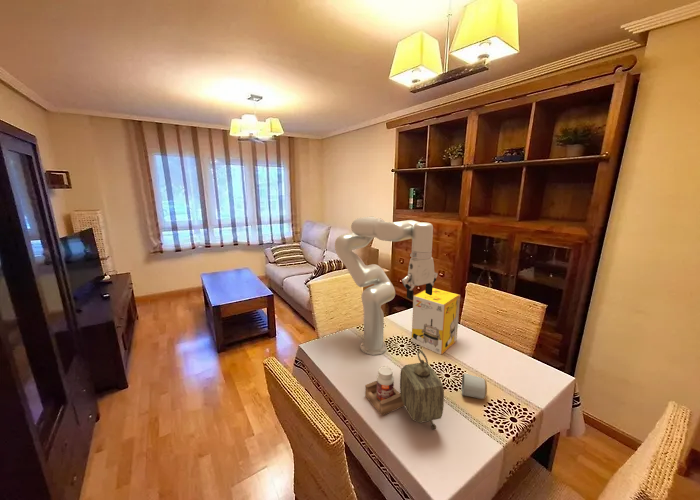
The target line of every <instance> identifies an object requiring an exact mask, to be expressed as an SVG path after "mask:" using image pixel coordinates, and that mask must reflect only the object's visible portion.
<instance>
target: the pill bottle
mask: <svg viewBox="0 0 700 500" xmlns="http://www.w3.org/2000/svg"><path fill="white" fill-rule="evenodd" d="M377 372H378V373H377V374H378V375H377V377H376V381H377V398H378V400H379V401H382V400H385V399H387V398H389V397H392V396H393V391H394V388H395V387H394V386H395V385H394V384H395V382H394V381H395V378H394V375H393V373H394V371H393V368H391V367H390V366H388V365H387V366H386V365H383V366H380V367H379V368H378V371H377Z"/></svg>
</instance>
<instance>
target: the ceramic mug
mask: <svg viewBox="0 0 700 500" xmlns="http://www.w3.org/2000/svg"><path fill="white" fill-rule="evenodd" d="M487 393H488V383H487V380H486V379H485V378H483V377H481V376H477V375H473V374H469V373H462V375H461V395H462V396H464V397H465V396H466V397H472V398H477V399H479V400H480V399H481V400H484V399H486V398H487Z"/></svg>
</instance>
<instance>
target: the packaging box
mask: <svg viewBox="0 0 700 500" xmlns="http://www.w3.org/2000/svg"><path fill="white" fill-rule="evenodd" d="M425 291H426V289H424V290H422V291H420V292H418V293H416V294H413V300H412V317H411V318H412V324H411V326H412V327H411V343H413V344H415V345H416V344H417V345H418V346H421V347H422V348H426V349H427V350H430V351H432V352H434V353H437V354H439V355H443V354H444V353H445V352H446V351H447V350H448V349H450V347H452V346H453V345H454V344H455V343H456V342H457V340H458V339H457V337H458V327H459V318H460V317H459V316H460V315H459V314H460V302H461V294H458V293H453V292H450V291H446V290H442V289H438V288H435V287H433V288H432V295H429V294H427V293H425Z"/></svg>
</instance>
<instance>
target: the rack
mask: <svg viewBox="0 0 700 500" xmlns="http://www.w3.org/2000/svg"><path fill="white" fill-rule="evenodd" d="M364 389H365V392H364V393H365V394H364V395H365V397H366V399H369V400H368V401H369V402H370V403H371V405H372V406H373V407H374V408H375V410H376V409H377V410H376V411H377V412H378V414H380V415H381V417H384V416H386V415H387V414H389V413H392V412H394V411H396V410H398V409H400V408H402V407H405V405H404V403H403V401H402V399H401V395H400V391H398V390H397V389H396V388H395V387H394V391H393V396H392V397H389V398H387V399H385V400H382V401H379V400H378V398H377V380H375V381H372V382H369V383H367V384H365V388H364Z"/></svg>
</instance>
